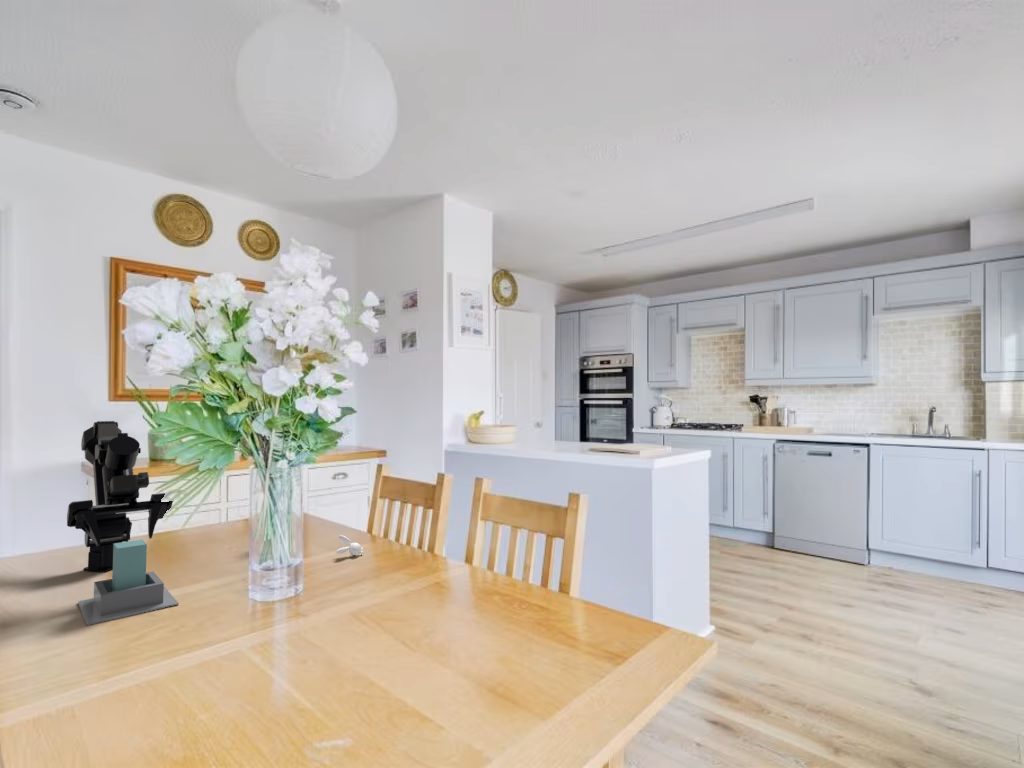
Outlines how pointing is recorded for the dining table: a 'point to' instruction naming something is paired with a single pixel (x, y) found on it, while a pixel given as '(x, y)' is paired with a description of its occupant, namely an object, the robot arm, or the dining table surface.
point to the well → (125, 600)
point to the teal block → (129, 565)
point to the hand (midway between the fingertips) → (125, 541)
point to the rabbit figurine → (353, 547)
